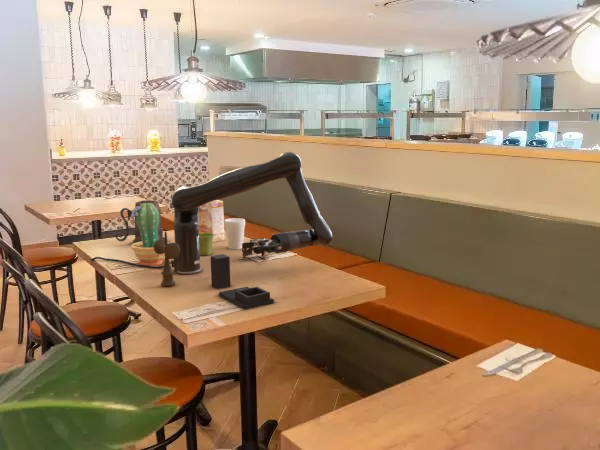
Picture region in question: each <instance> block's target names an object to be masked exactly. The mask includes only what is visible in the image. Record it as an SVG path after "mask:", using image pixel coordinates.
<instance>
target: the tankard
mask: <svg viewBox="0 0 600 450" xmlns="http://www.w3.org/2000/svg"><path fill="white" fill-rule="evenodd" d="M143 203H146V204H147V203H150V204H151V203H152V204H153V205H154V206H155V207H156V208H157V210H158V212H159V225H158V240H160V239H164V240H165V236H164V230H163V229H164V228H163V226H162V215H161V213H162V210H161V208H160V203H159V201H158V200H150V199H149V200H148V199H147V200H139V201H136V202H135V205H134V208H135V207H137V206H140V205H141V204H143ZM125 211H127V216H126V218H127V219H131V214H132V212H133V211H132V210H130V209H129V208H128V207H124V208H121V210H120V216H121V218H122V220H123V221H124V224H125V234H124V236H123V233H122V232H120V231H117V232H116V233H115V234H114V236H115V239H116V240H117V241H118V242H125V241H126V240H127V238H128V236H129V232H130V228H129V223H128V221H127V220H126V218H125V216H124V212H125ZM119 235H120V236H119ZM141 241H142V238H141V234H140V230H139V228H138V226H137V223H136V216H135V217H134V239H133V240H132V242H131V243H130V246H131V245H132V244H133V243H137V242H141Z"/></svg>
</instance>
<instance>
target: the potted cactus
mask: <svg viewBox="0 0 600 450" xmlns="http://www.w3.org/2000/svg"><path fill="white" fill-rule="evenodd" d="M131 212H132V214H131V217H130V219H131V220H132V222H134V223H135V216H136V223H137V226H138V228H139V230H140V234H141V238H142V241H141V242H137V243H133V244H132V245H131V244H130V249H131V250H132V251H133V252H134V256H135V257H136V258H137V259H138V260H139V265H147V266H158V265H162V264H164V261H163V259H165V254H164V253H163V254H157V253H156V252H155V251H154V244H155V242H156V241H157V240H158V225H159V212H158V210H157V208H156V207H155V206H154V205H153V204H152V203H151V204H150V203H147V204H146V203H143V204H141V205H140V206H137V207H135V206H134V208H133V210H132V211H131ZM167 242H168V243H170V242H169V241H167Z"/></svg>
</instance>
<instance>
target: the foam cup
mask: <svg viewBox="0 0 600 450" xmlns="http://www.w3.org/2000/svg"><path fill="white" fill-rule="evenodd" d="M245 227H246V218H245V219H244V218H241V217H240V218H239V217H231V218H226V219H224V230H225V235H226V240H227V246H228V249H229V250H240V249H241V250H242V249H243V248H242V243H244V237H245Z"/></svg>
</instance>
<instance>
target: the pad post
mask: <svg viewBox="0 0 600 450" xmlns="http://www.w3.org/2000/svg"><path fill="white" fill-rule="evenodd" d="M210 278H211V287H213V288H215V289H217V290H220V289H225V288H230V287H231V260H230V256H228V255H226V254H224V253H221V254H215V255H210Z"/></svg>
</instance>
